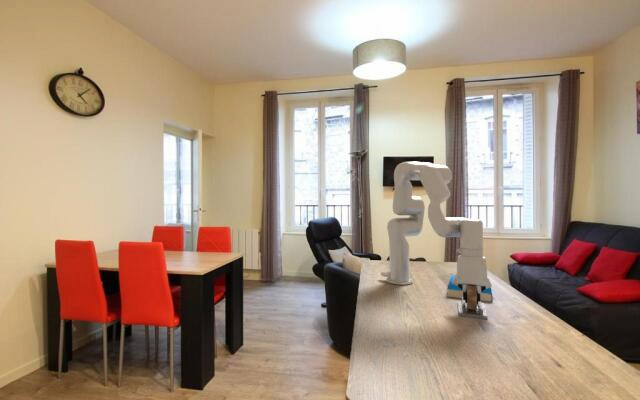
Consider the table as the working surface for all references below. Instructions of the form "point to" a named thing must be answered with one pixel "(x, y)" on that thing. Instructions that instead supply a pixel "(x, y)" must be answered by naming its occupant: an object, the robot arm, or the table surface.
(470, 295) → the door panel
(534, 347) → the table surface
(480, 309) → the floor track
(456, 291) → the book
